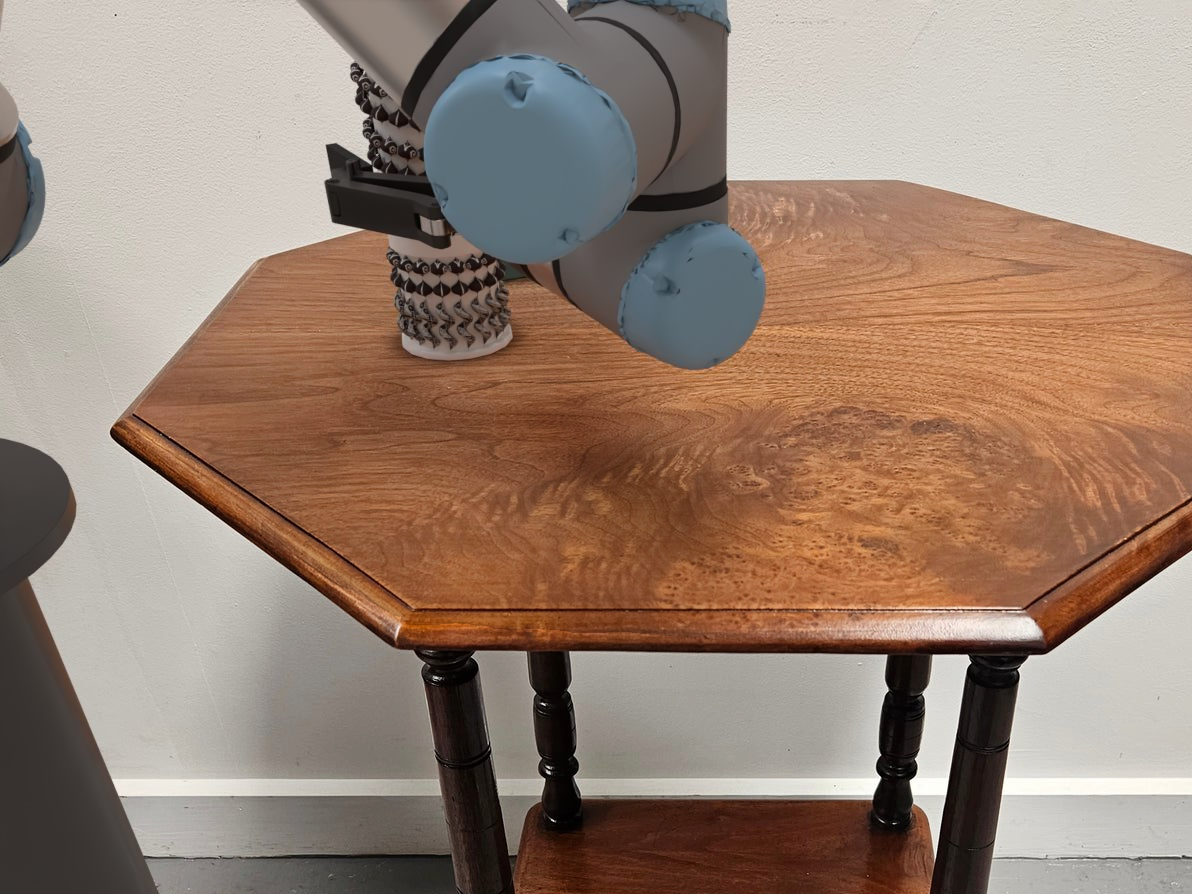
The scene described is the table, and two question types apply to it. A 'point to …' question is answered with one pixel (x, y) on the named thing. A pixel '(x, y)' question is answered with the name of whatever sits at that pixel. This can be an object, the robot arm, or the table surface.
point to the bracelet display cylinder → (432, 253)
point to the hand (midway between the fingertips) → (427, 149)
